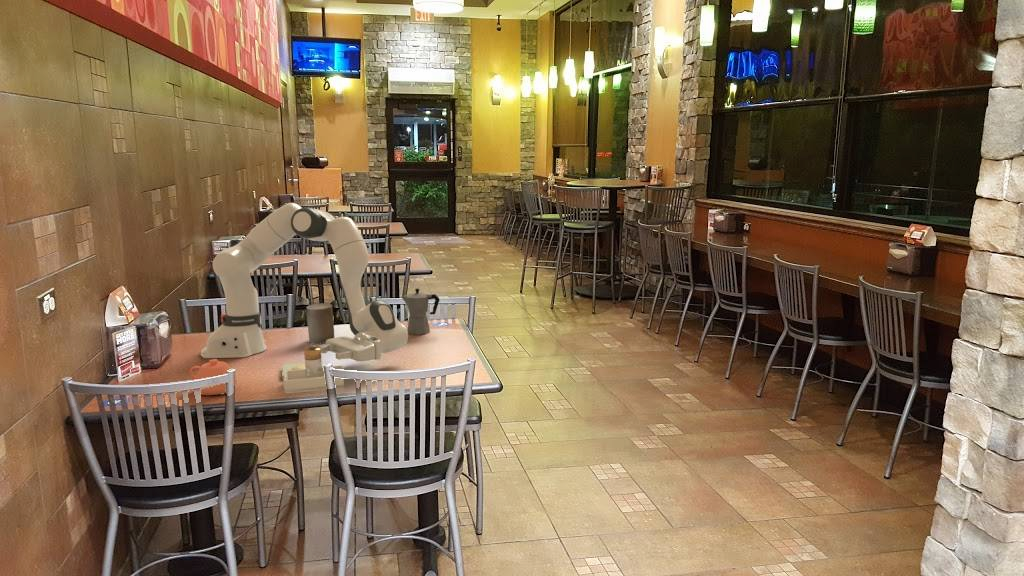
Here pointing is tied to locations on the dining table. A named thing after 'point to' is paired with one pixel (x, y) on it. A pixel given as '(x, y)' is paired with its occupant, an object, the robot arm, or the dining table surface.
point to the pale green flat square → (292, 367)
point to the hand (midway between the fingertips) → (328, 353)
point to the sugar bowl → (212, 370)
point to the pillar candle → (320, 322)
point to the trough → (307, 381)
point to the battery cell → (313, 361)
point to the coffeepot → (419, 311)
